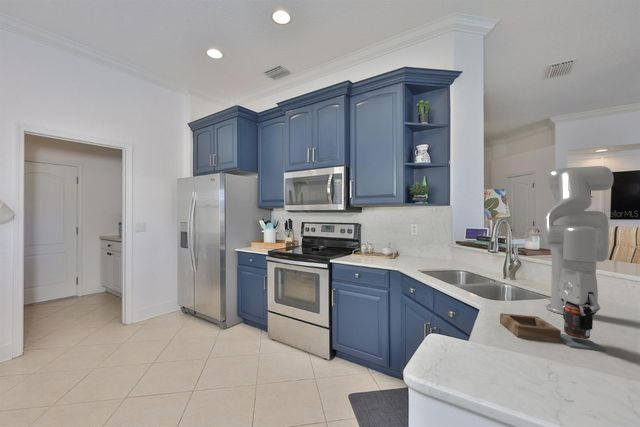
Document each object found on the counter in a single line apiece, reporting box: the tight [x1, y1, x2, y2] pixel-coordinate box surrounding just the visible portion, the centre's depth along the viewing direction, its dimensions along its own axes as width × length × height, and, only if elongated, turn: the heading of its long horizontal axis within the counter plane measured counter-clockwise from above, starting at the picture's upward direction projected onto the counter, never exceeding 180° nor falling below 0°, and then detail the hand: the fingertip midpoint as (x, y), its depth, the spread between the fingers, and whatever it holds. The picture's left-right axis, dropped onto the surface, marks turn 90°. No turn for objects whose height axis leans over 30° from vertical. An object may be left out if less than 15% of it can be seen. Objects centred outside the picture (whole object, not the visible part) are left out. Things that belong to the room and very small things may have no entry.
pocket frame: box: [499, 312, 562, 343], centre depth 92 cm, size 12×12×4 cm
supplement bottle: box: [563, 302, 591, 339], centre depth 85 cm, size 6×6×11 cm
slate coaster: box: [560, 333, 607, 352], centre depth 85 cm, size 9×9×1 cm
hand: (577, 323), depth 85 cm, fingers closed on supplement bottle, 5 cm apart
